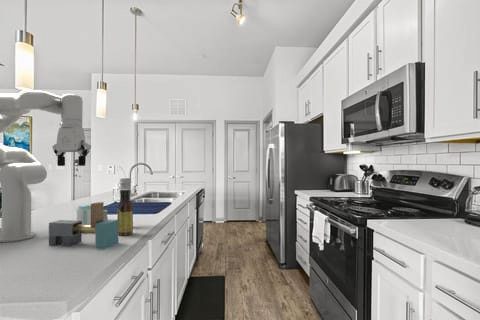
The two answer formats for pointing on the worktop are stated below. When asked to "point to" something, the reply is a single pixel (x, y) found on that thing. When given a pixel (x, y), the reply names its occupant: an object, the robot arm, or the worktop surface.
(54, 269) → the worktop surface
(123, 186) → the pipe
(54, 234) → the sleeve
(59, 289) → the worktop surface
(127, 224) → the sauce bottle
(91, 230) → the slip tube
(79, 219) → the can
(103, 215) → the flask
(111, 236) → the socket block
